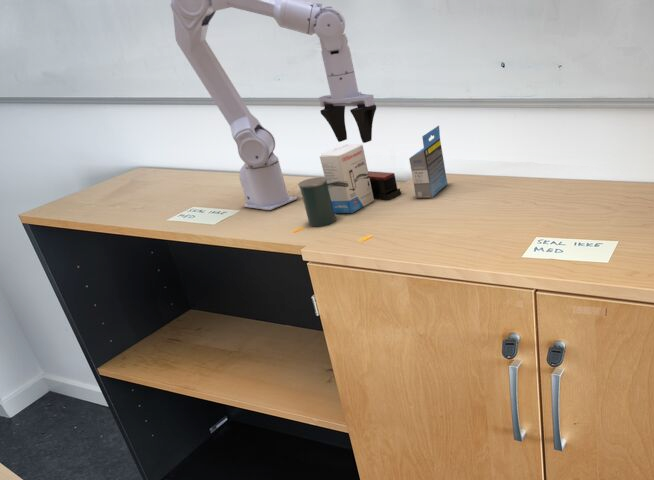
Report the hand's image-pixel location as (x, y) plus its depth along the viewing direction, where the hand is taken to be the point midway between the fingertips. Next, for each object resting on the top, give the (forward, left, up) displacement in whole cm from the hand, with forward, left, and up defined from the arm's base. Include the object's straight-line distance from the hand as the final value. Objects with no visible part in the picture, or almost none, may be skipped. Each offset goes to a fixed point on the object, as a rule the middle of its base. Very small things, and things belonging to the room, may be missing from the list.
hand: (354, 141), depth 146 cm
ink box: (+7, -10, -11) cm, 17 cm away
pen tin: (+8, -20, -10) cm, 23 cm away
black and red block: (+6, -3, -10) cm, 12 cm away
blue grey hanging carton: (+18, +2, -11) cm, 21 cm away
